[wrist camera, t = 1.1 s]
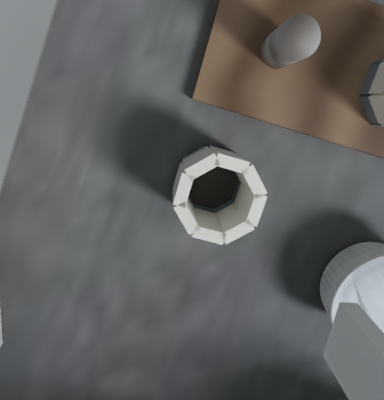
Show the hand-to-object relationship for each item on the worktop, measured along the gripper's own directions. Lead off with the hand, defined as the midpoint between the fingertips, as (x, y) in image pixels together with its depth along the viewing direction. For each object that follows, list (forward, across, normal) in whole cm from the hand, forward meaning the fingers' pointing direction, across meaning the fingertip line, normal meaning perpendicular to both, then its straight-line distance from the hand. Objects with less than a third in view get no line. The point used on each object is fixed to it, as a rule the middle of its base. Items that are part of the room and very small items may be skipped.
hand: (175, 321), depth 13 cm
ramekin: (+20, -22, +9) cm, 31 cm away
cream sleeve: (+21, -4, 0) cm, 21 cm away
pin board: (+21, -14, -11) cm, 28 cm away
